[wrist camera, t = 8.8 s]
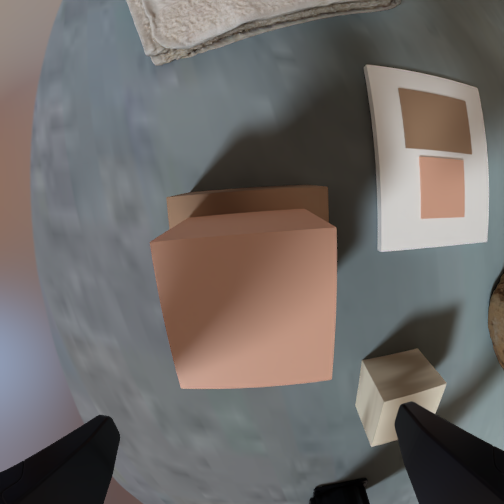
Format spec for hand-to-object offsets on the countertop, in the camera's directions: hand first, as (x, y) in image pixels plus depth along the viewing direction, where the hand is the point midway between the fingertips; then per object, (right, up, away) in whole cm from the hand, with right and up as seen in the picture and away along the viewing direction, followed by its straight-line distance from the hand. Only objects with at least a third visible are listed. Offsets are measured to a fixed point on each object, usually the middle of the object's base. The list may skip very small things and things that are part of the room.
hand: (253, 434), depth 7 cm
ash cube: (+11, -5, +13) cm, 18 cm away
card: (+13, +12, +9) cm, 19 cm away
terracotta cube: (0, +5, +6) cm, 7 cm away
